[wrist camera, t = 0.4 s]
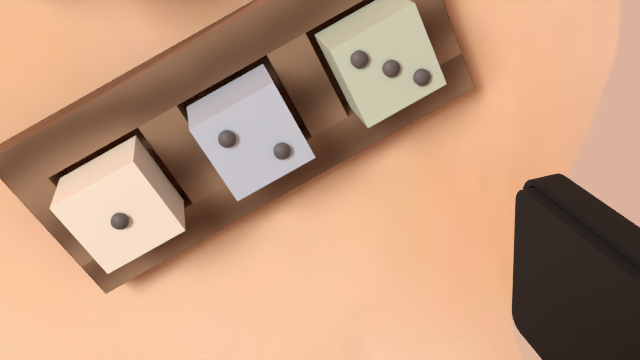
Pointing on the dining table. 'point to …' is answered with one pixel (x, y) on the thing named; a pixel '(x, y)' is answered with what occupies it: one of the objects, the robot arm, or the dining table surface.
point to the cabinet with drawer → (173, 129)
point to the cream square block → (119, 205)
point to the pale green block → (381, 58)
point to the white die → (248, 133)
